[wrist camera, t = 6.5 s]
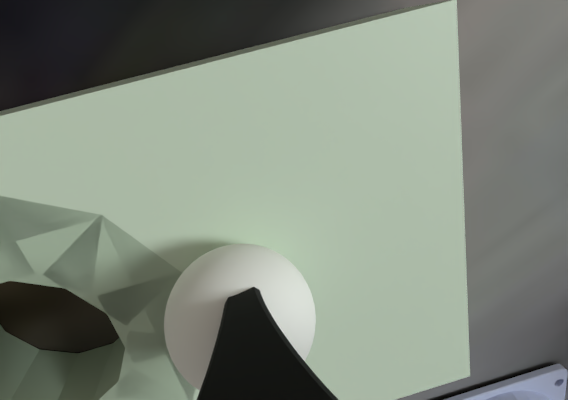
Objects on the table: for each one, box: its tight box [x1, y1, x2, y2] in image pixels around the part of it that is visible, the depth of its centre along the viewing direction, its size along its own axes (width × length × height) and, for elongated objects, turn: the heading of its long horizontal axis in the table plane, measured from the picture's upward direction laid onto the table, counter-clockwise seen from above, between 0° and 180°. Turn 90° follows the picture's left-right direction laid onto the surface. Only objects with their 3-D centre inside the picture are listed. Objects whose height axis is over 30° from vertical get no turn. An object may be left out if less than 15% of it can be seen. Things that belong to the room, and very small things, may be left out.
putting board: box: [0, 0, 470, 400], centre depth 14 cm, size 14×20×3 cm
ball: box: [164, 244, 316, 391], centre depth 10 cm, size 4×4×4 cm
